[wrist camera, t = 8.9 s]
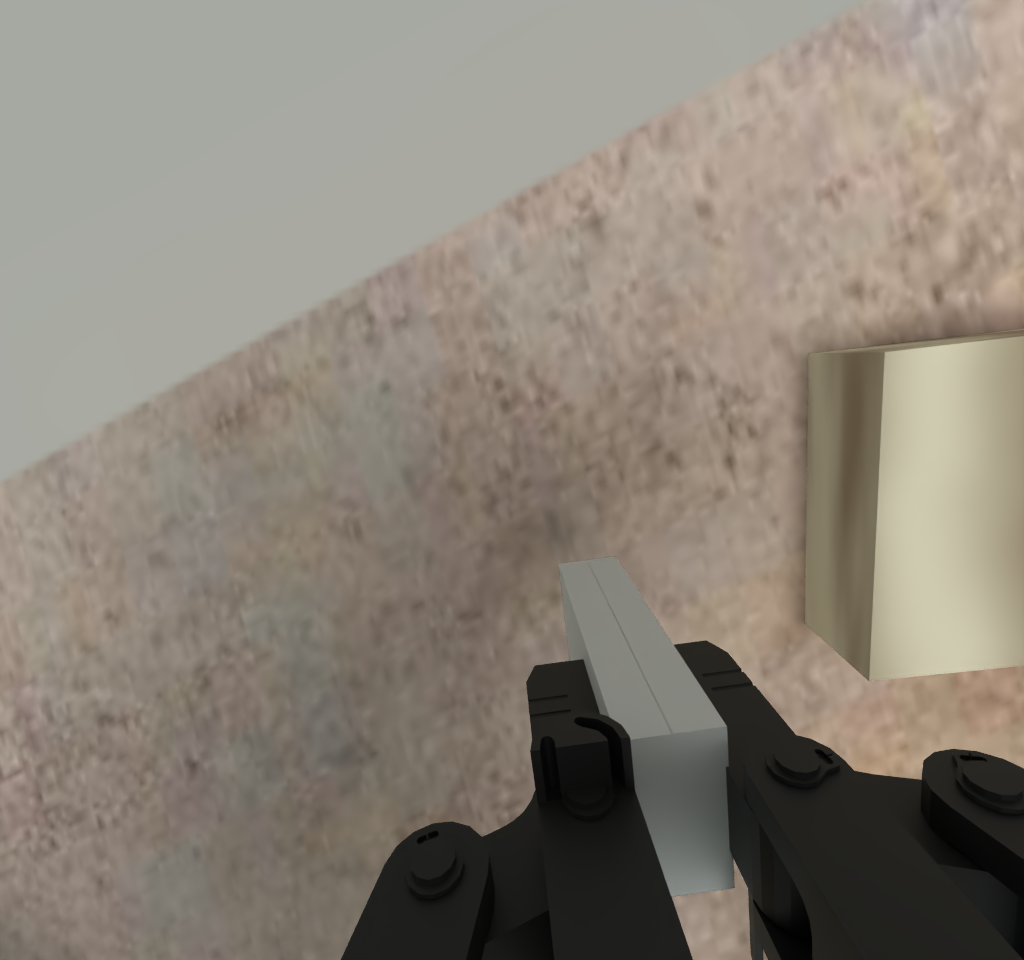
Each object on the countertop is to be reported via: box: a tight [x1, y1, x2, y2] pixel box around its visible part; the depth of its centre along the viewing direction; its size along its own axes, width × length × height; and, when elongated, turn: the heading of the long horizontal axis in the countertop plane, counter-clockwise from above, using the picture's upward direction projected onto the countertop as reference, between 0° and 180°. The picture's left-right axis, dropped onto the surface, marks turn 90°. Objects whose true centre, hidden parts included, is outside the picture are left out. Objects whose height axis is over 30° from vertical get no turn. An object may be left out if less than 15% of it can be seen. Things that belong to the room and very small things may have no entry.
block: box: [805, 329, 1024, 681], centre depth 17 cm, size 10×10×4 cm
